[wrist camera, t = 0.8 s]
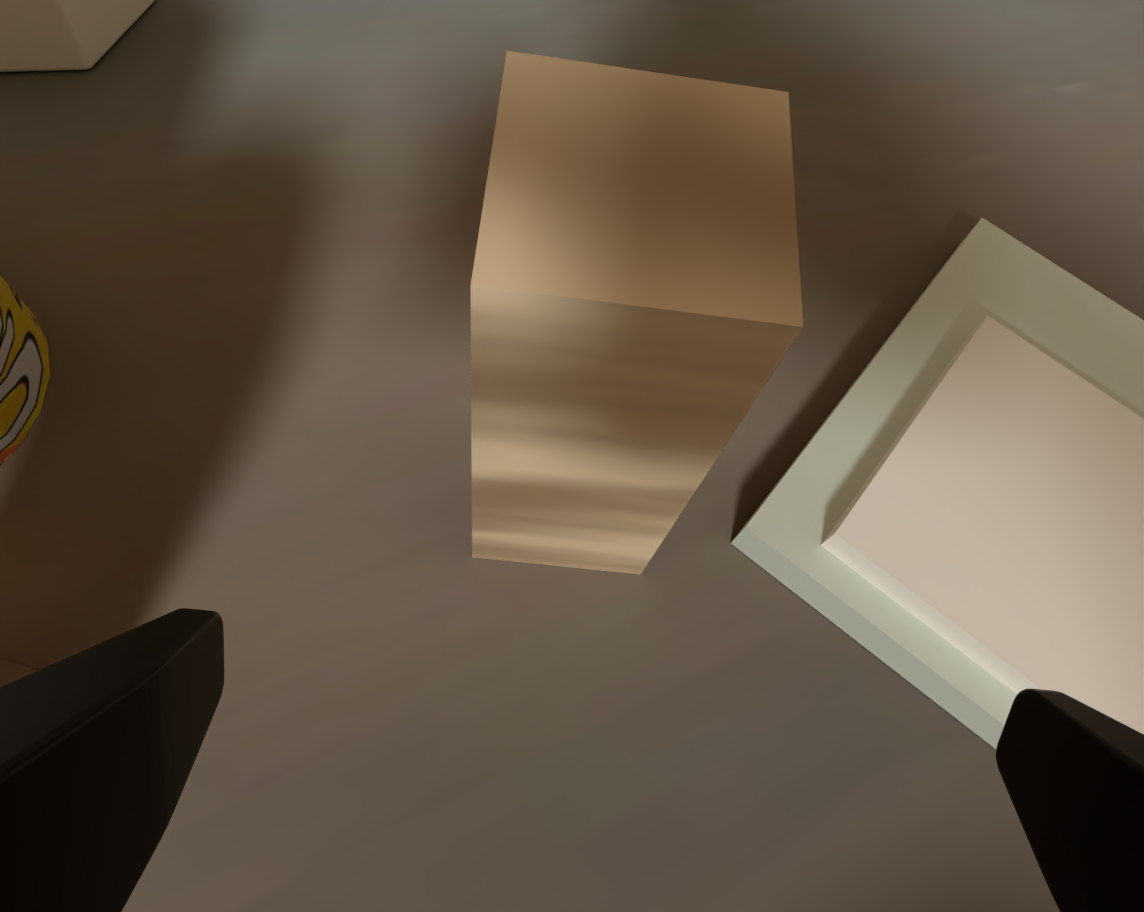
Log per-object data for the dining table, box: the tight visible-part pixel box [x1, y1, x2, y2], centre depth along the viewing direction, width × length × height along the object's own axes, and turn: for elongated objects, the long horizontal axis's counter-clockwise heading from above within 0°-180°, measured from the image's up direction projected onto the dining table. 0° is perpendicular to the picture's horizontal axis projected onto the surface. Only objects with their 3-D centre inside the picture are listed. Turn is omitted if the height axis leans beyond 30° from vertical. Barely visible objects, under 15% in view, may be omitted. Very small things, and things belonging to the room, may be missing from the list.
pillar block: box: [471, 51, 803, 574], centre depth 19 cm, size 5×5×13 cm
